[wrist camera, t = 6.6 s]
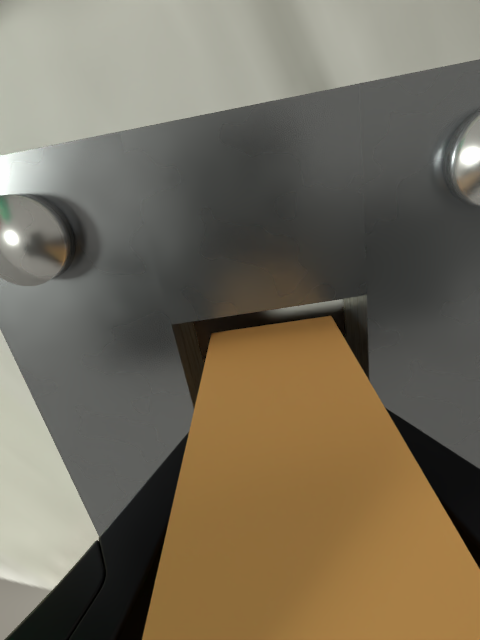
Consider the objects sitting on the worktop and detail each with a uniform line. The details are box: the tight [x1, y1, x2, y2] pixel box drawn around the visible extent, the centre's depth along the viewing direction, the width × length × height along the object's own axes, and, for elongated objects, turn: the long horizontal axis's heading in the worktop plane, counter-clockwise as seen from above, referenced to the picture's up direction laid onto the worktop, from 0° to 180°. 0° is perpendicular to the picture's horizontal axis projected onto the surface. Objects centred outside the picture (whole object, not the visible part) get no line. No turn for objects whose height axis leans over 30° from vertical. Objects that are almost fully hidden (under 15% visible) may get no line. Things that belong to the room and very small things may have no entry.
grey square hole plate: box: [0, 60, 480, 537], centre depth 11 cm, size 14×14×3 cm
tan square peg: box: [142, 316, 480, 640], centre depth 7 cm, size 4×4×8 cm
